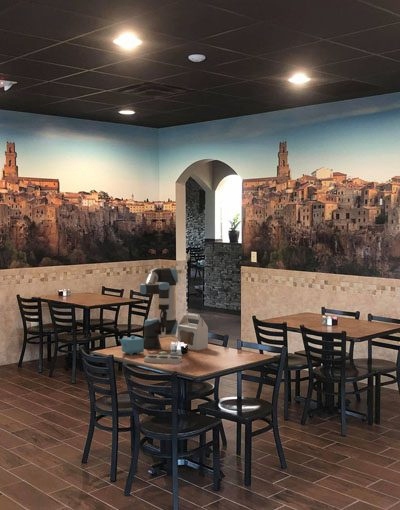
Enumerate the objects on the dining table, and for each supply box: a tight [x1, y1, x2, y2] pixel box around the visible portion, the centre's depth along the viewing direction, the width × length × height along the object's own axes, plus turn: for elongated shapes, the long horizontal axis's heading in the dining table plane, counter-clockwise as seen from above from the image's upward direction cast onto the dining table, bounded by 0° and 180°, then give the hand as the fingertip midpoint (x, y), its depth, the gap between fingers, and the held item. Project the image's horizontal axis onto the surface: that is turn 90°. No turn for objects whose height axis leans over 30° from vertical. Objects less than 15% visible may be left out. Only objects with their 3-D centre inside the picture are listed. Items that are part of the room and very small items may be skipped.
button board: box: [143, 354, 183, 365], centre depth 465 cm, size 12×25×3 cm, turn 80°
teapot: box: [117, 335, 145, 356], centre depth 490 cm, size 22×11×14 cm, turn 123°
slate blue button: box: [169, 351, 179, 356], centre depth 464 cm, size 6×6×2 cm
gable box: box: [177, 311, 209, 351], centre depth 520 cm, size 22×13×28 cm, turn 46°
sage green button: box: [158, 351, 168, 356], centre depth 465 cm, size 6×6×2 cm
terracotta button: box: [147, 350, 158, 355], centre depth 466 cm, size 6×6×2 cm
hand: (163, 336), depth 464 cm, fingers closed
